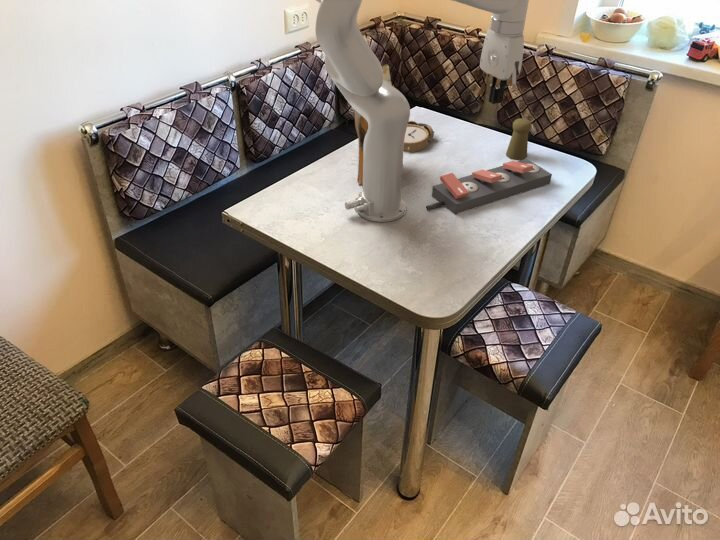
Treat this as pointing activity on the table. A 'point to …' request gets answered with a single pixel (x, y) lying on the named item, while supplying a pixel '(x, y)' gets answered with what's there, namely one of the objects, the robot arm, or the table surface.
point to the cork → (519, 140)
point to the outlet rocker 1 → (454, 185)
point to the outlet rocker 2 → (486, 176)
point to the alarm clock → (417, 136)
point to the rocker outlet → (517, 167)
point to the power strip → (490, 188)
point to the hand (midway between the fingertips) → (495, 101)
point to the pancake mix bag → (366, 127)
